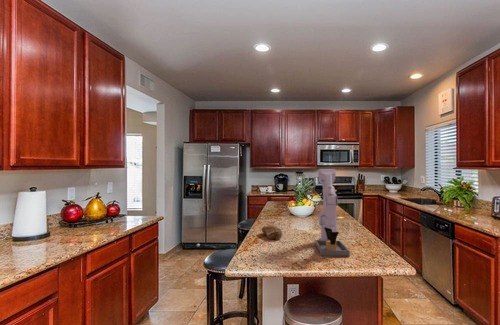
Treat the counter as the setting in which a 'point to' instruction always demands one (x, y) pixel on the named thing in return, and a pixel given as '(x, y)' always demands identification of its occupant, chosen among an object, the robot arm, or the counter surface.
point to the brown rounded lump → (272, 232)
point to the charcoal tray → (339, 252)
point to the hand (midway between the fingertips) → (331, 242)
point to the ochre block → (329, 246)
